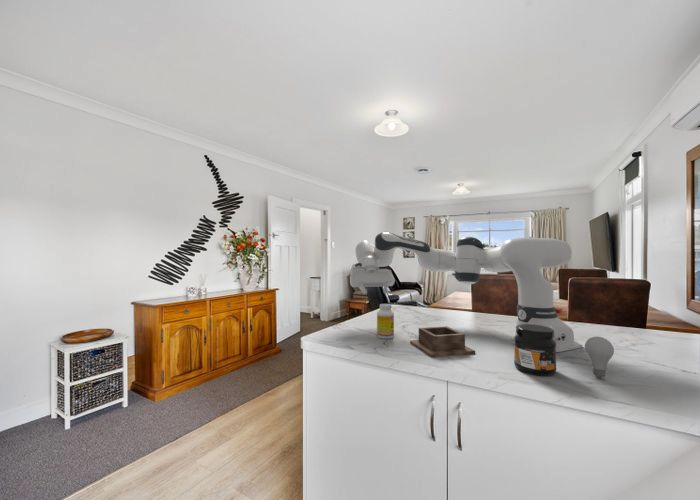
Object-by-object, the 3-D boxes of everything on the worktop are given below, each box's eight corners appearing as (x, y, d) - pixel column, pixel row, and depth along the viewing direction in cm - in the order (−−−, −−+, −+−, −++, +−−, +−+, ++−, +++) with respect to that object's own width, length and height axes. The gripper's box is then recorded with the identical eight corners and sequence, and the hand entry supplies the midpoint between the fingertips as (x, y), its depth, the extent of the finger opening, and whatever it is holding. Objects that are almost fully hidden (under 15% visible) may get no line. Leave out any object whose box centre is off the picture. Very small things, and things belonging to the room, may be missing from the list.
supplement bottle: (393, 339, 119) (393, 306, 119) (376, 338, 120) (376, 305, 120) (394, 335, 125) (394, 303, 125) (377, 334, 127) (378, 302, 127)
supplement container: (521, 375, 85) (521, 331, 85) (508, 362, 95) (508, 323, 95) (564, 378, 83) (564, 333, 83) (546, 364, 93) (546, 324, 93)
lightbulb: (579, 373, 86) (579, 334, 86) (599, 373, 86) (599, 333, 87) (598, 383, 80) (598, 340, 80) (620, 382, 80) (620, 340, 80)
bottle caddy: (448, 340, 118) (448, 324, 118) (475, 353, 103) (475, 335, 103) (410, 343, 114) (410, 326, 115) (431, 357, 99) (431, 338, 99)
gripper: (388, 273, 148) (396, 296, 139) (346, 273, 143) (352, 298, 134) (392, 264, 144) (400, 287, 134) (349, 264, 139) (354, 289, 129)
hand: (375, 292), depth 134 cm, fingers open, 8 cm apart
